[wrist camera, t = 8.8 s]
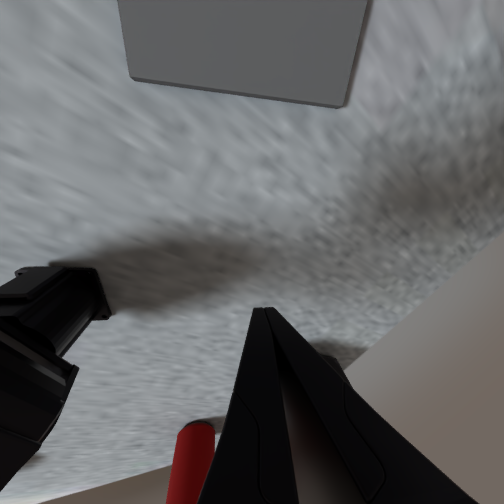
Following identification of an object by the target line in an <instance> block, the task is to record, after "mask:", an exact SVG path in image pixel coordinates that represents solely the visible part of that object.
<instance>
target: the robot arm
mask: <svg viewBox="0 0 504 504" xmlns="http://www.w3.org/2000/svg"><path fill="white" fill-rule="evenodd" d="M89 272H90V273H91V274H90V273H89ZM15 276H16V278H14V279H13V280H11V281H9V282H7V283H6V284H4V285H2V286H0V491H1V490H2V489H3V488H4V487H5V486H6V484H7V483H8V482H9V481H10V480H11V479H12V477H13V476H14V475H15V474H16V473H17V472H18V470H19V469H20V468H21V467H22V466H23V465H24V464H25V463H26V462H27V461H28V460H29V459H30V458H31V457H32V456H33V455H34V454H35V453H36V452H37V451H38V450H39V449H40V447H41V445H42V443H43V441H44V440H45V439H46V437H47V436H48V435H49V433H50V432H51V430H52V429H53V427H54V426H55V424H56V422H57V420H58V418H59V416H60V414H61V412H62V409H63V407H64V404H65V402H66V400H67V397H68V395H69V392H70V390H71V388H72V385H73V383H74V380H75V378H76V376H77V373H78V371H79V367H77V366H76V365H72V364H70V363H69V362H67V361H66V360H64V359H63V358H62V357H63V356H64V355H65V353H66V352H67V351H68V350H69V348H70V347H71V346H72V345H73V344H74V342H75V341H76V340H77V339H78V337H79V336H80V335H81V334H82V332H83V331H84V330H85V329H86V328H87V326H88V325H89V324H90V323H91V321H94V320H108V319H109V318H110V316H111V311H110V309H109V306H108V303H107V300H106V297H105V294H104V291H103V288H102V285H101V282H100V279H99V276H98V273H97V271H96V270H95V269H93V268H67V267H33V268H21V269H19V270H17V271H15ZM197 504H479V503H478V502H476V501H475V500H474V499H473V498H472V497H470V496H469V495H468V494H467V493H466V492H464V491H463V490H462V489H461V488H460V487H459V486H457V485H456V484H455V483H454V482H453V481H452V480H451V479H449V477H447V476H446V475H445V474H444V473H443V472H442V471H441V470H440V469H439V468H437V467H436V466H435V465H434V464H433V463H432V462H431V461H430V460H429V459H427V458H426V457H425V456H424V455H423V454H422V453H421V452H420V451H419V450H417V449H416V448H415V447H414V446H413V445H412V444H411V443H409V441H407V440H406V439H405V438H404V437H403V436H402V435H401V434H400V433H399V432H397V431H396V430H395V429H394V428H393V427H392V426H391V425H390V424H389V423H388V422H387V421H386V420H384V419H383V418H382V417H381V416H380V415H379V414H378V413H377V412H376V411H375V410H374V409H373V408H372V407H371V406H370V405H369V404H368V403H367V402H366V401H365V400H364V399H363V398H362V397H361V396H360V395H359V394H358V393H357V392H356V391H355V390H354V389H353V388H352V387H351V386H350V385H349V384H348V383H347V382H346V381H344V380H343V378H342V377H341V376H340V375H339V374H338V373H337V372H336V371H335V370H334V369H333V368H332V367H331V366H330V365H329V364H328V363H327V362H326V361H325V360H324V358H323V357H322V356H321V355H320V354H319V353H318V352H317V351H316V350H315V349H314V348H313V347H312V346H311V345H310V344H309V343H308V342H307V341H306V340H305V339H304V338H303V337H302V336H301V335H300V334H299V333H298V332H297V331H296V330H295V329H294V328H293V326H292V325H291V324H290V323H289V322H288V321H287V320H286V319H285V318H284V317H283V316H282V315H281V314H280V313H279V312H278V311H277V310H276V309H275V308H274V307H265V308H262V307H260V308H254V309H253V312H252V316H251V320H250V324H249V328H248V332H247V336H246V340H245V344H244V348H243V352H242V356H241V360H240V364H239V368H238V373H237V377H236V381H235V385H234V389H233V393H232V396H231V400H230V404H229V408H228V412H227V415H226V419H225V423H224V426H223V430H222V433H221V436H220V439H219V442H218V445H217V448H216V451H215V454H214V457H213V460H212V462H211V465H210V468H209V471H208V473H207V476H206V479H205V482H204V484H203V487H202V490H201V493H200V495H199V498H198V501H197Z"/></svg>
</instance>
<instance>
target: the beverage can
mask: <svg viewBox="0 0 504 504" xmlns="http://www.w3.org/2000/svg"><path fill="white" fill-rule="evenodd" d="M214 454H215V430H214V428H213V427H211V426H210V425H209V424H207V423H204V422H195V423H191V424H189V425H187V426H186V427H185V428H183V429H182V430H181V431H180V432H179V433H178V435H177V441H176V447H175V452H174V458H173V464H172V469H171V475H170V481H169V488H168V493H167V499H166V504H197V501H198V498H199V495H200V493H201V490H202V487H203V484H204V482H205V479H206V476H207V473H208V471H209V468H210V465H211V462H212V460H213V457H214Z"/></svg>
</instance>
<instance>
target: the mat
mask: <svg viewBox="0 0 504 504" xmlns="http://www.w3.org/2000/svg"><path fill="white" fill-rule="evenodd" d="M117 2H118V8H119V14H120V20H121V27H122V33H123V39H124V45H125V51H126V57H127V63H128V70H129V76H130V77H131V78H132V79H133V80H134V81H138V82H145V83H153V84H160V85H167V86H175V87H182V88H189V89H196V90H204V91H211V92H218V93H226V94H233V95H240V96H247V97H255V98H262V99H269V100H277V101H284V102H291V103H298V104H306V105H313V106H320V107H328V108H335V109H338V108H340V107H342V106H343V103H344V99H345V94H346V90H347V86H348V82H349V77H350V73H351V69H352V64H353V60H354V56H355V52H356V47H357V43H358V39H359V35H360V30H361V26H362V22H363V17H364V13H365V9H366V5H367V0H117Z"/></svg>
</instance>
